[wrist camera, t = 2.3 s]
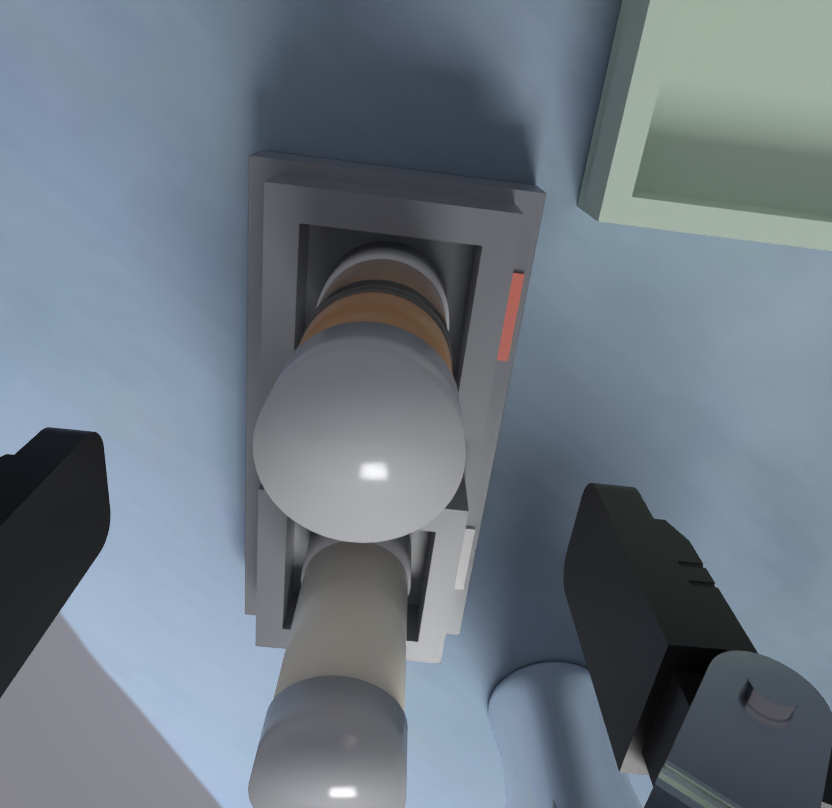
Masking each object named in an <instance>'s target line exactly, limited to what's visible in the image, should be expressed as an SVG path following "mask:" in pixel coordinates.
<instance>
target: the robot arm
mask: <svg viewBox="0 0 832 808" xmlns="http://www.w3.org/2000/svg"><path fill="white" fill-rule="evenodd" d="M109 526H110V503H109V493H108V484H107V474H106V464H105V454H104V446H103V441H102V439H101V436H100V435H99V434H98V433H96V432H90V431H80V430H70V429H60V428H50V427H48V428H45V429H43V430H41V431H40V432H39V433H38V434H37V435H36V436H35V437H34V438H32V439H31V440H30V441H29V442H28V443H27V444H26V445H25V446H24V447H22V448H21V449H20V450H19V451H18V452H17V453H16V454H15V455H10V454H6V455H4V456H2V457H0V698H1V696H2V695H3V693H4V692H5V690H6V689H7V687H8V686H9V684H10V682H11V681H12V680H13V678H14V677H15V676H16V674H17V672H18V671H19V670H20V668H21V667H22V665H23V664H24V663H25V661H26V660H27V658H28V657H29V655H30V654H31V652H32V651H33V649H34V648H35V646H36V645H37V644H38V642H39V641H40V639H41V637H42V636H43V635H44V633H45V632H46V630H47V629H48V627H49V626H50V624H51V623H52V622H53V620H54V619H55V617H56V616H57V614H58V613H59V611H60V610H61V608H62V607H63V606H64V604H65V603H66V601H67V600H68V598H69V597H70V595H71V594H72V592H73V591H74V589H75V588H76V587H77V585H78V584H79V582H80V581H81V579H82V578H83V576H84V575H85V573H86V572H87V570H88V569H89V568H90V566H91V565H92V563H93V562H94V560H95V559H96V557H97V556H98V554H99V553H100V551H101V550H102V548H103V546H104V544H105V541H106V538H107V535H108V531H109ZM714 584H715V582H714V581H713V579H712V577H711V576H710V574H709V572H708V571H707V569H706V568H703V563H702V561H701V559H700V558H699V556H698V554H697V553H696V551H695V550H694V548H693V546H692V545H691V543H690V541H689V540H688V539H686V538H685V537H684V536H683V535H682V534H681V533H679V532H678V531H677V530H676V529H675V528H674V527H672V526H671V525H670V524H669V523H668V522H667V521H665V520H660V519H654V518H653V517H652V515H651V513H650V511H649V510H648V508H647V506H646V504H645V502H644V501H643V499H642V497H641V495H640V493H639V492H638V490H637V489H636V488H634V487H626V486H616V485H606V484H596V483H589V484H588V485H587V486H586V488H585V490H584V492H583V495H582V498H581V502H580V506H579V509H578V513H577V517H576V520H575V524H574V528H573V531H572V535H571V539H570V542H569V546H568V550H567V554H566V558H565V564H564V588H565V593H566V597H567V600H568V604H569V607H570V610H571V614H572V617H573V620H574V624H575V627H576V630H577V634H578V637H579V640H580V644H581V647H582V650H583V654H584V657H585V660H586V664H587V667H588V670H589V674H590V677H591V680H592V684H593V687H594V690H595V694H596V697H597V700H598V704H599V707H600V710H601V714H602V717H603V720H604V723H605V727H606V730H607V733H608V737H609V740H610V743H611V747H612V750H613V753H614V757H615V760H616V763H617V767H618V770H619V772H620V773H633V774H646V775H649V776H650V779H651V782H652V785H653V789H652V791H651V793H650V796H649V798H648V800H647V802H646V804H645V807H644V808H832V712H831V710H830V708H829V706H828V704H827V703H826V701H825V700H824V698H823V697H822V696H821V694H820V693H819V692H818V691H817V690H816V689H815V688H814V687H813V686H812V685H811V684H810V683H809V682H808V681H807V680H806V679H804V678H803V677H802V676H801V675H799V674H798V673H797V672H795V671H794V670H792V669H791V668H789V667H787V666H786V665H784V664H782V663H780V662H778V661H776V660H774V659H771V658H769V657H766V656H763V655H761V654H758V653H757V651H756V649H755V648H754V646H753V644H752V643H751V641H750V639H749V638H748V636H747V635H746V633H745V631H744V630H743V628H742V626H741V625H740V623H739V621H738V620H737V618H736V617H735V615H734V613H733V612H732V610H731V608H730V607H729V605H728V603H727V602H726V600H725V599H724V597H723V595H722V594H721V592H720V590H719V589H718V588H716V587H715V586H714Z"/></svg>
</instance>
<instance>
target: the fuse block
mask: <svg viewBox="0 0 832 808" xmlns="http://www.w3.org/2000/svg"><path fill="white" fill-rule="evenodd" d="M545 198H546V193H545V192H544V191H543V190H541V189H540V188H539V187H538V186H536V185H530V184H522V183H515V182H507V181H499V180H491V179H483V178H475V177H468V176H460V175H452V174H444V173H436V172H428V171H421V170H413V169H405V168H397V167H389V166H381V165H374V164H366V163H358V162H350V161H342V160H334V159H326V158H319V157H311V156H303V155H295V154H287V153H279V152H272V151H264V150H263V151H261V152H258V153H255V154H252V155H249V187H248V304H247V421H246V538H245V614H249V615H256V646H262V647H272V648H283V649H286V646H287V642H288V638H289V634H290V630H291V626H292V622H293V618H294V614H295V609H296V605H297V601H298V597H299V593H300V589H301V585H302V584H301V575H302V569H303V565H304V561H305V557H306V553H307V549H308V545H309V541H310V537H311V534H312V531H310V530H308V529H307V528H305V527H303V526H301V525H300V524H298V523H297V522H295V521H294V520H292V519H291V518H290V517H288V516H287V515H286V514H285V513H284V512H283V511H281V509H280V508H279V507H278V506H277V505H276V504H275V503H274V502H273V501H272V499H271V498H270V496H269V495H268V494H267V492H266V491H265V489H264V487H263V485H262V483H261V481H260V479H259V476H258V473H257V471H256V467H255V462H254V458H253V436H254V430H255V426H256V422H257V419H258V417H259V414H260V412H261V410H262V408H263V406H264V404H265V402H266V400H267V398H268V396H269V394H270V392H271V390H272V388H273V386H274V384H275V382H276V380H277V378H278V376H279V374H280V372H281V370H282V368H283V367H284V365H285V363H286V362H287V360H288V358H289V357H290V356H291V355H292V353H293V352H294V351H295V350H296V349H297V348H298V347H299V343H300V339H301V337H302V334H303V332H304V330H305V328H306V326H307V324H308V322H309V320H310V318H311V316H312V314H313V313H314V311H315V309H316V308H317V303H318V300H319V297H320V294H321V292H322V290H323V288H324V286H325V284H326V282H327V280H328V278H329V276H330V274H331V272H332V270H333V269H334V267H335V266H336V264H337V263H338V262H339V261H340V260H341V259H342V258H343V257H344V256H345V255H346V254H347V253H349V252H350V251H352V250H353V249H355V248H357V247H359V246H362V245H364V244H367V243H372V242H378V241H392V242H397V243H402V244H405V245H408V246H410V247H412V248H414V249H416V250H418V251H419V252H421V253H422V254H423V255H425V256H426V257H427V258H428V259H429V260H430V261H431V262H432V263H433V264H434V265H435V267H436V268H437V270H438V271H439V273H440V275H441V277H442V279H443V282H444V285H445V289H446V294H447V302H448V310H449V331H448V332H449V337H450V342H451V350H452V360H453V370H452V375H453V377H454V379H455V382H456V385H457V388H458V393H459V398H460V406H461V414H462V422H463V430H464V438H465V449H466V459H465V468H464V472H463V476H462V480H461V482H460V485H459V487H458V489H457V491H456V493H455V495H454V496H453V498H452V500H451V501H450V502H449V504H448V505H447V506H446V507H445V509H444V510H443V511H442V512H441V513H440V514H439V515H438V516H437V517H436V518H434V519H433V520H432V521H430V522H429V523H428V524H426V525H425V526H423V527H421V528H420V529H418V530H416V531H414V532H412V533H409V534H408V535H409V537H410V540H411V547H412V550H411V587H410V592H409V595H408V602H407V638H406V660H410V661H421V662H432V663H441V658H442V652H443V647H444V641H445V636H446V634H456V635H459V633H460V627H461V622H462V617H463V612H464V607H465V602H466V597H467V592H468V587H469V582H470V577H471V572H472V567H473V562H474V557H475V552H476V547H477V542H478V537H479V531H480V526H481V521H482V516H483V511H484V506H485V501H486V496H487V491H488V486H489V481H490V476H491V471H492V466H493V461H494V456H495V451H496V446H497V440H498V435H499V430H500V425H501V420H502V415H503V410H504V405H505V400H506V395H507V390H508V385H509V380H510V375H511V370H512V365H513V360H514V355H515V350H516V344H517V339H518V334H519V329H520V324H521V319H522V314H523V309H524V304H525V299H526V294H527V289H528V284H529V279H530V274H531V269H532V264H533V259H534V254H535V248H536V243H537V238H538V233H539V228H540V223H541V218H542V213H543V208H544V203H545Z"/></svg>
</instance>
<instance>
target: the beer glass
mask: <svg viewBox="0 0 832 808" xmlns="http://www.w3.org/2000/svg"><path fill="white" fill-rule="evenodd" d="M488 716H489V721H490V725H491V729H492V732H493V735H494V738H495V741H496V744H497V748H498V751H499V754H500V758H501V762H502V766H503V772H504V779H505V795H506V799H505V808H643V807H642V805H641V803H640V801H639V799H638V797H637V795H636V793H635V791H634V788H633V786H632V784H631V782H630V780H629V777H628V775H627V773H620V772H619V770H618V767H617V763H616V760H615V757H614V753H613V750H612V747H611V743H610V740H609V737H608V733H607V730H606V727H605V723H604V720H603V717H602V714H601V710H600V707H599V704H598V700H597V697H596V694H595V690H594V687H593V684H592V680H591V677H590V674H589V670H588V669H587V668H584V667H582V666H579V665H575V664H571V663H566V662H543V663H537V664H533V665H529V666H526V667H524V668H521V669H519V670H517V671H515V672H513V673H512V674H510V675H509V676H507V677H506V678H505V679H503V680H502V681H501V682H500V683H499V684H498V685H497V687H496V688H495V689H494V691H493V693H492V695H491V697H490V700H489V706H488Z"/></svg>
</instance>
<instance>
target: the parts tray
mask: <svg viewBox="0 0 832 808" xmlns="http://www.w3.org/2000/svg"><path fill="white" fill-rule="evenodd" d="M577 207H579V208H580V209H581V210H583V211H584V212H586V213H587V214H588V215H590V216H591V217H592V218H594V219H595V220H597V221H598V222H605V223H613V224H621V225H629V226H637V227H645V228H653V229H661V230H669V231H677V232H685V233H693V234H701V235H709V236H717V237H725V238H733V239H741V240H749V241H757V242H765V243H773V244H781V245H789V246H797V247H804V248H812V249H820V250H828V251H832V0H622V3H621V8H620V12H619V17H618V21H617V26H616V31H615V35H614V40H613V44H612V49H611V53H610V58H609V63H608V67H607V72H606V76H605V81H604V85H603V90H602V94H601V99H600V104H599V108H598V113H597V117H596V122H595V126H594V131H593V136H592V140H591V145H590V149H589V154H588V158H587V163H586V167H585V172H584V177H583V181H582V186H581V190H580V195H579V199H578V204H577Z"/></svg>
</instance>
